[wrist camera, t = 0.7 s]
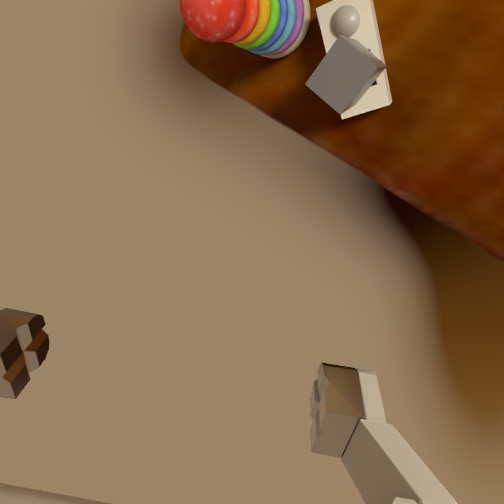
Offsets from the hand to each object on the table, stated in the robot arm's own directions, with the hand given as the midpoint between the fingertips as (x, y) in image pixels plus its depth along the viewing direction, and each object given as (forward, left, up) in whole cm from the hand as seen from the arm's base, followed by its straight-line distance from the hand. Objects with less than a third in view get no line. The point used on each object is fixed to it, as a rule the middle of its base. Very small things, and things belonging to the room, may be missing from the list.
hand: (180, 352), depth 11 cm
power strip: (-8, -2, -40) cm, 41 cm away
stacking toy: (-11, -12, -40) cm, 43 cm away
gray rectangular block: (-6, -2, -39) cm, 39 cm away
